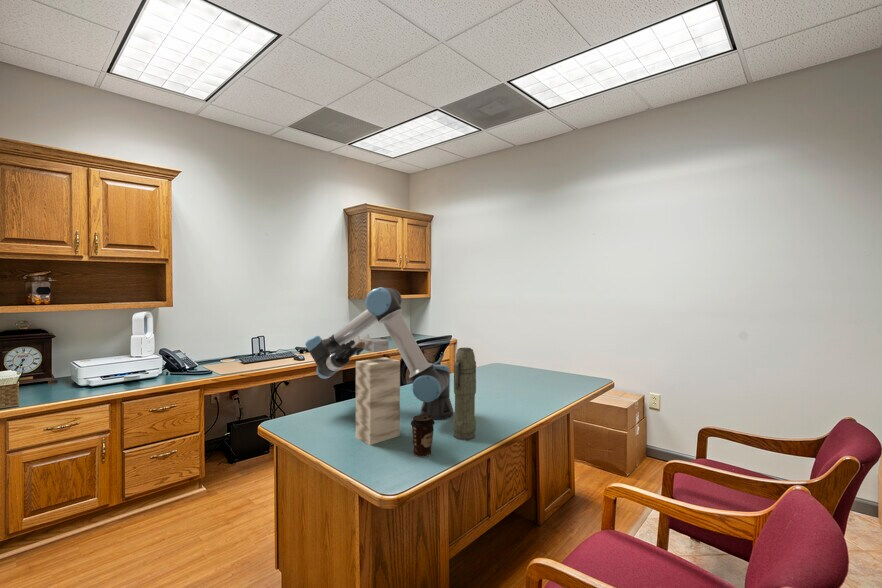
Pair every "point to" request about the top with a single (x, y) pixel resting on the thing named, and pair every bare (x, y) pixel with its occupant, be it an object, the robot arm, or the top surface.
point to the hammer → (373, 345)
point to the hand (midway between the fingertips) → (364, 337)
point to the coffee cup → (422, 434)
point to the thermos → (464, 394)
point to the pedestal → (377, 400)
